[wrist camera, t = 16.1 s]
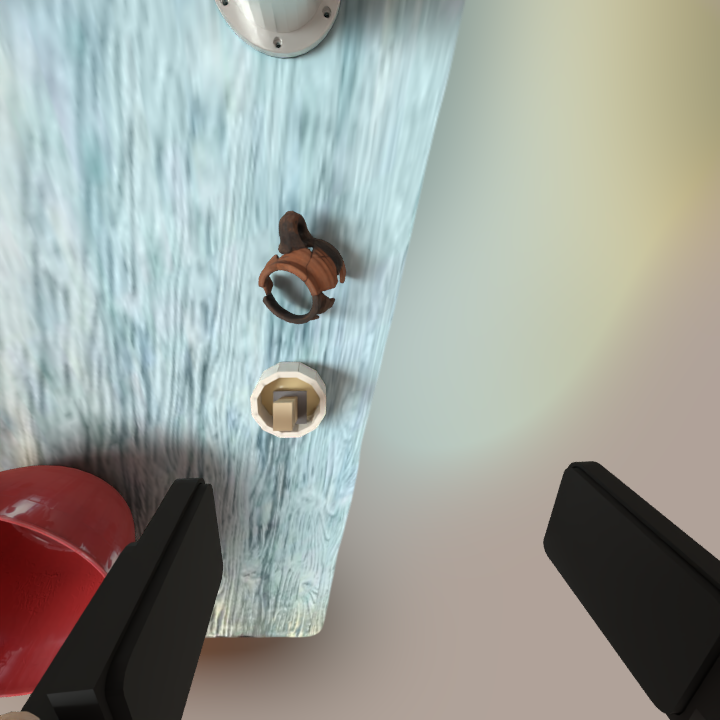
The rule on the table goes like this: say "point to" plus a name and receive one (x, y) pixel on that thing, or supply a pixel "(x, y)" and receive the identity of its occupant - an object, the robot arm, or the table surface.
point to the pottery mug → (303, 267)
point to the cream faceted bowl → (289, 379)
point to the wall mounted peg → (289, 409)
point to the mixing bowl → (51, 562)
